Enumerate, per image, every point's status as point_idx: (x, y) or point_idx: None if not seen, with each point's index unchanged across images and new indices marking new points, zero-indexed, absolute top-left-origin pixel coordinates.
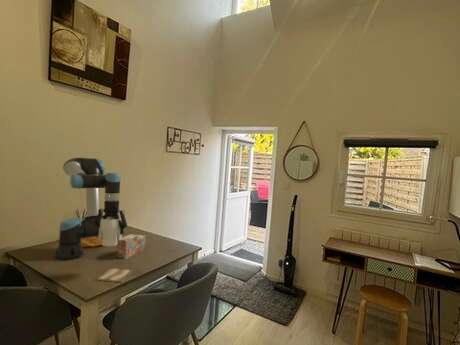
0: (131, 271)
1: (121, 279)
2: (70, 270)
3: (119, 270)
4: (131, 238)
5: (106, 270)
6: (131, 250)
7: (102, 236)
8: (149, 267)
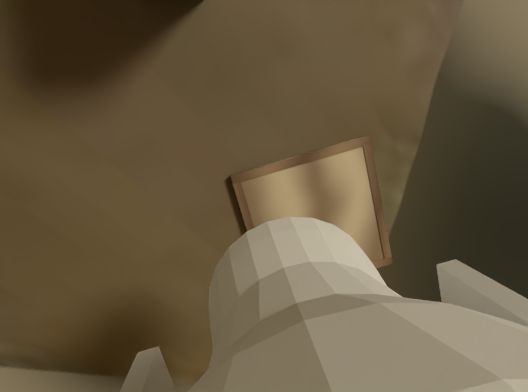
0: (371, 153)
1: (379, 248)
2: (64, 290)
3: (308, 177)
4: None
5: (247, 213)
6: None
7: (153, 363)
8: (428, 48)
